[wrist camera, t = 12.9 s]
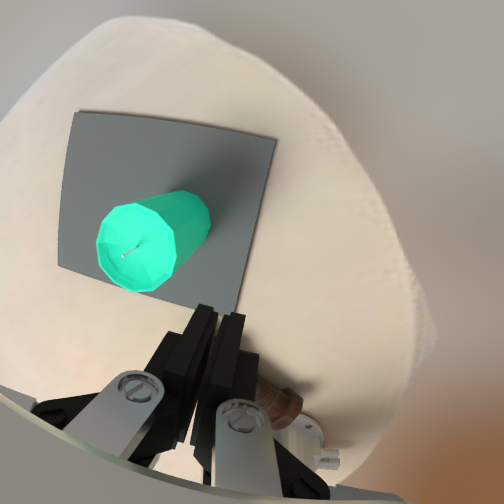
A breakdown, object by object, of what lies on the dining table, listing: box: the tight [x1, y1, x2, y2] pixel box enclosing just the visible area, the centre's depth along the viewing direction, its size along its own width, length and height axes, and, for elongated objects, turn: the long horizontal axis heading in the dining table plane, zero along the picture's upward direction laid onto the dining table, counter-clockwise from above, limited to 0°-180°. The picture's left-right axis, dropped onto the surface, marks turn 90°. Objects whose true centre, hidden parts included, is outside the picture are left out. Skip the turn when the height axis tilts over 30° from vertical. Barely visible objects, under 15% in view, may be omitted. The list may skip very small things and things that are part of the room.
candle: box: [96, 190, 211, 293], centre depth 23 cm, size 6×6×12 cm
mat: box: [58, 112, 275, 317], centre depth 29 cm, size 22×18×1 cm
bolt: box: [210, 338, 303, 431], centre depth 31 cm, size 6×5×15 cm
